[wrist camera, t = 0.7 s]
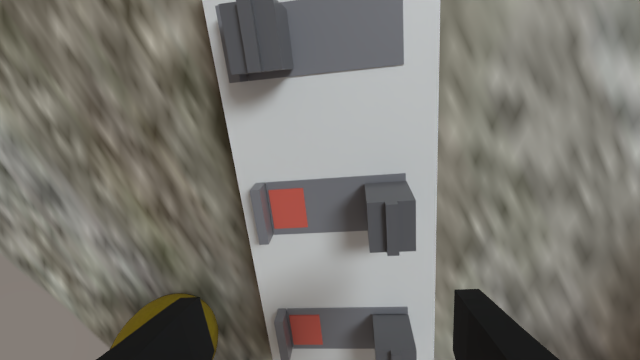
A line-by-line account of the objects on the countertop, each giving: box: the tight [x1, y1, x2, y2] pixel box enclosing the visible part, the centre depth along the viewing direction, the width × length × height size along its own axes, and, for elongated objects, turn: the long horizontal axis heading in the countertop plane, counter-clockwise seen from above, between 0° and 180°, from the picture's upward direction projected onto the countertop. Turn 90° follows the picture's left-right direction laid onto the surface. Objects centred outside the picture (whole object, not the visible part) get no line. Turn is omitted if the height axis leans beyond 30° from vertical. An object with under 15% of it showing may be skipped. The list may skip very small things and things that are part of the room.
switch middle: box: [365, 181, 416, 256], centre depth 14 cm, size 2×2×3 cm
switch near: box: [218, 0, 294, 75], centre depth 13 cm, size 2×2×3 cm
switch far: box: [372, 315, 417, 360], centre depth 17 cm, size 2×2×3 cm
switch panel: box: [202, 0, 440, 360], centre depth 17 cm, size 23×10×4 cm, turn 6°
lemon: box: [110, 294, 218, 360], centre depth 19 cm, size 6×6×8 cm
